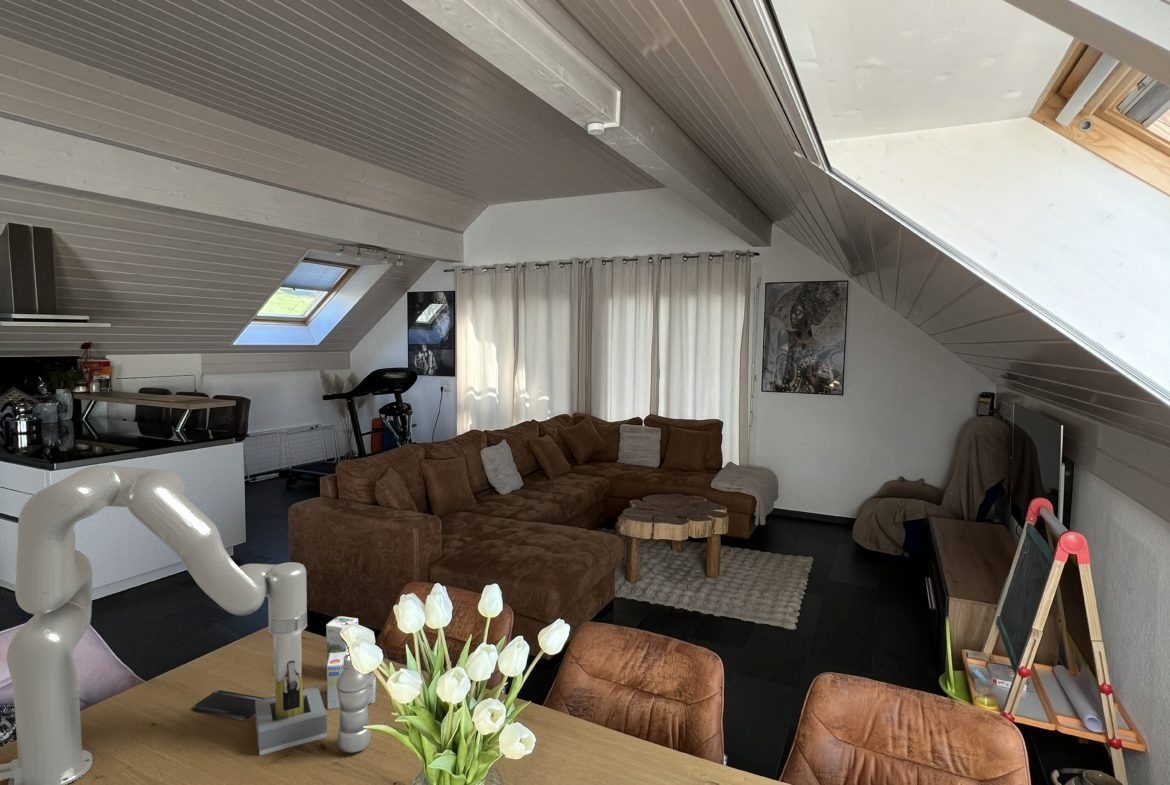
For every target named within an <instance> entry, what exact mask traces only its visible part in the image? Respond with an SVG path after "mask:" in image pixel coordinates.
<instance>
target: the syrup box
mask: <svg viewBox="0 0 1170 785" xmlns="http://www.w3.org/2000/svg"><path fill="white" fill-rule="evenodd" d="M348 621H351V622H354V623H356V624H358V625H359V618H358V617H357V618H356V617H349V616H341V615H339V616H336V617H334V618H333V619H332V620H330V621H329V622H328V623H326V626H325V627H326V628H325V629H326V663H327V662H328V659H329V655H330V653H338V652H347V651H348V649H347V646H346V644H345V642H344V641H343V640H342V638H341V635H340V630H341V628H342V627H343V626H344V625H345V624H346V623H347V622H348Z"/></svg>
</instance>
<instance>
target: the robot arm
mask: <svg viewBox="0 0 1170 785" xmlns="http://www.w3.org/2000/svg"><path fill="white" fill-rule="evenodd" d="M184 492H185V485H184V482H183V480H182V479H181V478H180V476H179V475H177V474H176V473H175V472H171V471H169V470H166V469H158V468H144V467H143V468H142V467H131V466H129V467H128V466H120V465H119V466H116V465H106V464H105V465H103V464H102V465H101V464H100V465H91V466H88V467H85V468H82V469H80V470H78V471H76V472H74V473H73V474H71V475H69V476H67V477H65V478H63V479H61V480H59V481H57V482H55V483H52V484H51V485H49V486H47V487H45V488H42V489H41V490H40V491H38V492H36V493H35V494H34V495H32V496H31V497H30V498H29V499H28V500H27V501H26V502H25V503H24V505H23V507H22V509H21V510H20V513H19V516H18V522H17V547H16V548H17V550H16V562H15V563H16V564H15V565H16V566H15V567H16V570H15V588H14V589H15V590H14V592H15V599H16V602H17V604H18V607H20V608H21V609H22V610H23V611H25V612H26V613H28V614H31V615H33V616H32V617H31V618H30V619H28V621H26V623H25V624H24V625H23V626H22V627H21V628H19V630H18V631H17V632H16V633H15V635H14V636H13V637H12V639H11V641H9V642H10V643H9V645H8V647H7V651H6V665H7V668H8V672H9V675H10V678H11V683H12V691H13V699H14V700H13V702H14V713H15V714H14V715H15V716H14V717H15V729H16V730H15V731H16V733H15V734H16V745H17V746H16V748H17V758H15V759H12V760H11V762H7V763H1V764H0V782H2V781H4V780H7V779H9V781H8V785H65V784H68V783H70V782H72V781H74V780H76V779H77V780H79V779H80V778H81V777H83V776H84V775H85V774H86V773H87V772H88V771H89V770H90V769H91V767H92V765H93V754H92V753H91V752H90V751H88V750H86V749H83V743H82V741H83V740H82V727H81V725H82V724H81V705H80V689H79V677H78V676H79V675H78V671H77V666H76V663H75V660H74V651H75V650H74V649H75V648H76V647H77V645H78V643H79V642H80V641H81V640H82V638H83V637H84V636H85V634H86V633H87V631H88V630H89V627H90V624H91V621H92V620H91V619H92V609H93V608H92V605H93V568H92V564H91V560H89V558H88V557H87V556H86V555H85V554H84V553H83V552H81V551H79V550H77V549H76V533H75V529H74V528H75V525H76V524H77V523H78V522H80V521H81V520H85V519H86V518H90V517H91V516H93V515H95V514H97V513H99V512H100V511H101V510H103V509H104V508H106V507H115V508H117V507H119V508H127V510H128V511H129V512H130V513H131V515H132V516H134V517H135V518H136V519H137V520H138V521H139V522H140V523H141V524H142V525H144V527H146V528H147V529H148V530H149V531H151V533H153V535H155V536H156V537H157V538H158V539H159V540H161V542H163V543H164V544H165V545H166V546H167V547H168V548H170V550H171V551H173V552H174V553H175V555H177V556H178V557H179V559H180V561H181V563H182V565H183V566H184V568H185V569H186V570H187V571H188V573H189V574H190V575H191V577H192V579H193V580H194V581H195V584H197V585H198V586H199V588H200V589H201V590H202V591H203V592H204V593H205V594H206V595H207V596H208V597H209V598H210V599H212V600H213V601H214V602H215V603H216V604H217V605H218V606H220V607H221V609H223V610H225V611H226V612H228V613H229V614H232V615H234V616H241V617H243V616H248V615H251V614H253V613H254V612H256V611H258V610H259V609H260V607H261V606H262V605H263V603H264V601H265V597H266V598H267V599H268V602H267V604H268V605H267V606H268V607H267V608H268V633H269V634H271V635H273V638H272V640H273V642H272V645H273V646H272V647H273V648H272V651H273V652H272V653H273V655H272V656H273V657H272V665H273V666H272V667H273V672H274V677H275V678H274V679H275V682H276V681H278V682H280V681H282V680H283V681H284V692H283V710H284V711H286V710H290V709H294V708H298V707H300V688H299V683H298V678H299V677H300V676H301V669H302V664H303V663H302V662H303V661H302V659H303V658H302V656H303V655H302V654H303V650H302V649H303V648H302V644H303V643H302V632H303V631H304V630H305V629H306V628H307V627H308V611H307V610H308V609H307V607H308V605H307V604H308V603H307V602H308V600H307V598H308V597H307V569H306V567H305V565H304V564H302V563H299V562H294V561H293V562H292V561H291V562H289V561H288V562H283V563H279V564H268V563H267V564H265V563H246V564H243V565H240V566H239V565H238V564H236V562H235V561H234V560H233V559H232V557H231V556H230V554H229V553H228V551H227V550H226V549H225V547H224V543H223V541H222V537H221V534H220V532H219V529H218V527H217V526H216V524H215V523H214V522H213V521H212V520H211V519H210V518H209V517H207V515H206V514H204V513H203V512H202V510H200V509H199V508H198V507H197V506H196V505H195V504H194V503H193V502H192V501H190V499H188V497H187V496H185V495H184ZM288 674H289V676H288V677H286V675H288ZM287 681H289V684H288V685H287ZM82 775H83V776H82ZM79 777H80V778H79ZM78 778H79V779H78ZM77 780H76V781H77ZM74 782H75V781H74Z"/></svg>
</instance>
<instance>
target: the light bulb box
mask: <svg viewBox="0 0 1170 785" xmlns="http://www.w3.org/2000/svg"><path fill="white" fill-rule="evenodd" d="M347 654H349V652H348V651H347V652H338V653H330V655H329V659H328V662H327V661H326V687H327V688H326V692H327V693H326V698H327V699H326V700H327V702H326V703H327V706H326V707H327V710H331V709H332V708H333V709H340V705H339V697H338V692H337V685H336V682H337V679H338V677H339V675H340V673H341V672H342V671H343V669H344V667H343V663H344V656H345V655H347ZM368 675H369V677H370V683H369V690H368V703H367V704H368V705H369V704H370V703H371V704H374V702H376V694H375V693H376V692H377V676H376V677H375V675H374V673H369V674H368ZM371 704H370V705H371Z"/></svg>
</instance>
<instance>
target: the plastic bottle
mask: <svg viewBox="0 0 1170 785" xmlns="http://www.w3.org/2000/svg"><path fill="white" fill-rule="evenodd" d="M343 667H344V669H343V671H342V672H341V673H340V675H339V677H338V679H337V682H336V685H337V692H338V697H339V705H340V708H339V727H338V731H337V739H336V740H337V744H338V747H339V748H340V749H341V751H342V752H344V753H346V754H349V753H350V754H352V753H358V752H361V751H363V750H364V749H365V748H367V746H368V745H369V744H370V742H371V737H372V730H368V729H364V728H363V726H366V725H370V720H369V712H368V711H369V710H368V705H369V704H367V703H368V690H369V683H370V677H369V675H368V674H361V673H359V672H357V671H356V670H355V669H354V667H353V665H352V662H351V658H350V654H347V655H345V656H344V663H343ZM370 726H371V725H370Z"/></svg>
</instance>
